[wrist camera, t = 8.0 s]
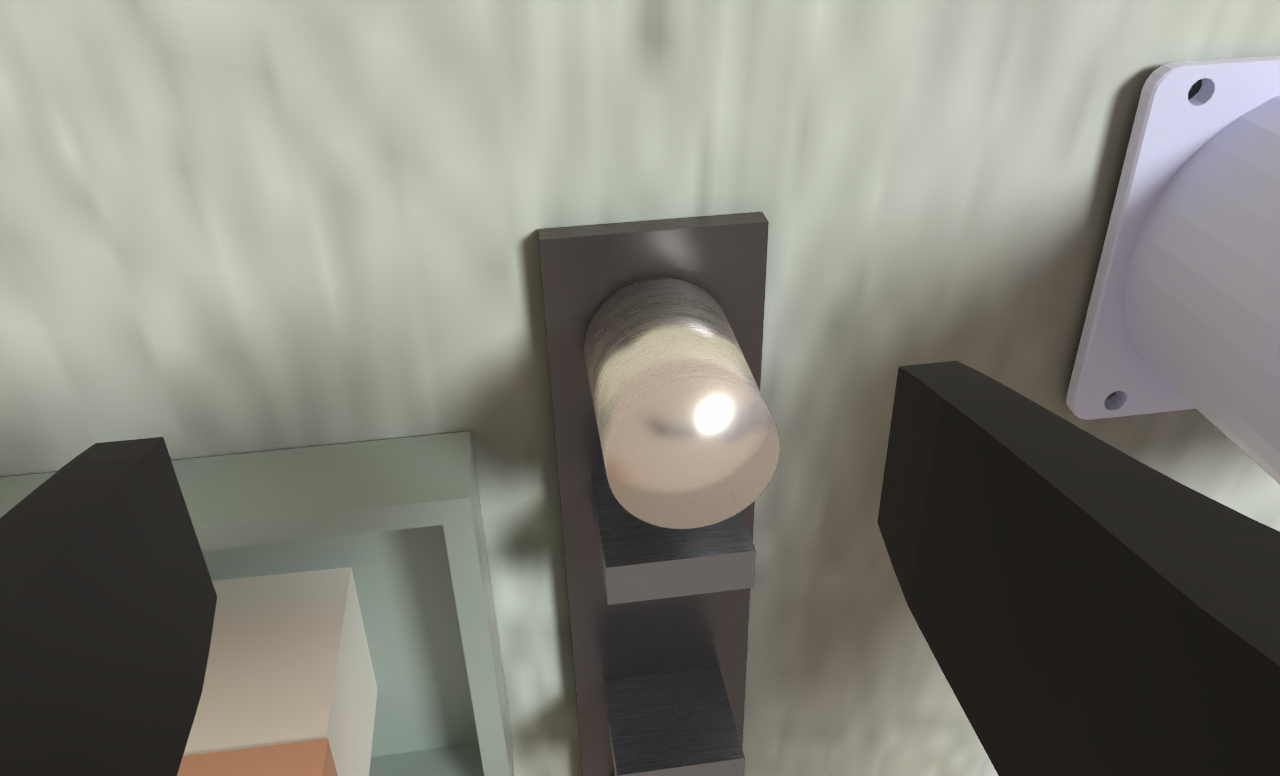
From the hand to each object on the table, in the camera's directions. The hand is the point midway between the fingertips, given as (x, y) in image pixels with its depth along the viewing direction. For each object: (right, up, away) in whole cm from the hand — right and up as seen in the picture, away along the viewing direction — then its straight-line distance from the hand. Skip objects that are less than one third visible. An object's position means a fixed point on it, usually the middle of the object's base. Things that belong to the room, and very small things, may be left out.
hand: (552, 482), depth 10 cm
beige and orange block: (-7, -5, +13) cm, 16 cm away
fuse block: (+1, -4, +14) cm, 15 cm away
